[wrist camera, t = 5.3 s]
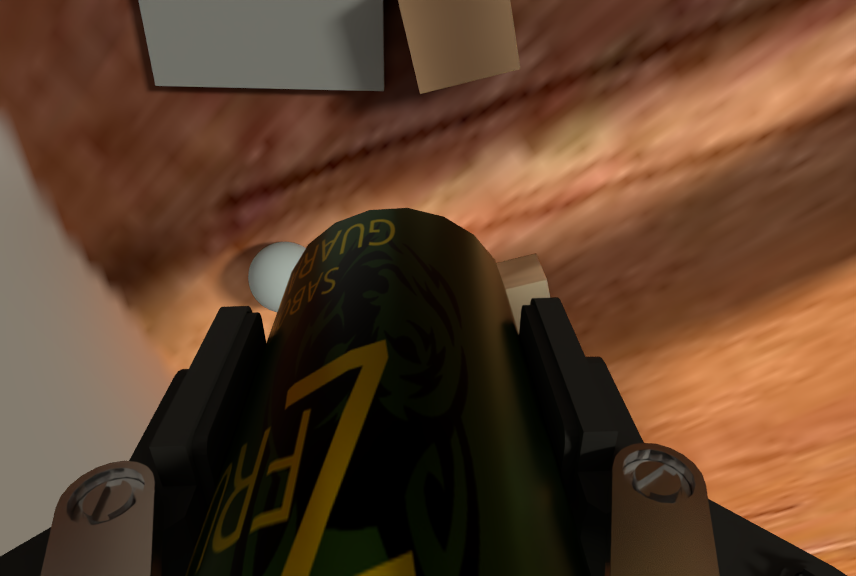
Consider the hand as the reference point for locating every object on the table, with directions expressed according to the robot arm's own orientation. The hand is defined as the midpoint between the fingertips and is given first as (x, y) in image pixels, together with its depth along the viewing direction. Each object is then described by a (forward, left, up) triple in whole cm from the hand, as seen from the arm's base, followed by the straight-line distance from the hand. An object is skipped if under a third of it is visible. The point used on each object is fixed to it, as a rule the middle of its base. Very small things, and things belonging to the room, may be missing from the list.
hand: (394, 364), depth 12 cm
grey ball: (+6, +7, -16) cm, 18 cm away
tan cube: (-2, -5, -18) cm, 19 cm away
